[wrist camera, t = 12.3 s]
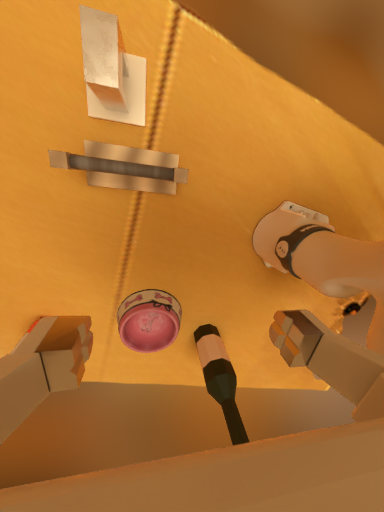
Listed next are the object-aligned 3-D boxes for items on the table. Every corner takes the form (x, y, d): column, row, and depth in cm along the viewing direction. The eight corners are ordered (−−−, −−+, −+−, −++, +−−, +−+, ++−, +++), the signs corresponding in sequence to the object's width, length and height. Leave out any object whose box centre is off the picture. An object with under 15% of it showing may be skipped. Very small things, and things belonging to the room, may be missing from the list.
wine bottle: (221, 324, 62) (272, 441, 35) (213, 343, 65) (255, 464, 38) (197, 322, 60) (232, 445, 33) (190, 342, 63) (217, 469, 36)
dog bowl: (107, 329, 55) (101, 349, 49) (133, 279, 50) (130, 294, 44) (164, 344, 62) (165, 363, 56) (192, 300, 57) (196, 316, 51)
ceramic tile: (146, 60, 34) (146, 58, 33) (145, 127, 37) (144, 126, 37) (84, 45, 31) (83, 42, 31) (89, 117, 35) (88, 115, 34)
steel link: (129, 67, 33) (117, 15, 22) (129, 114, 35) (118, 88, 25) (104, 61, 32) (79, 4, 21) (106, 109, 35) (84, 81, 24)
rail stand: (178, 155, 40) (191, 145, 26) (175, 194, 43) (184, 204, 29) (85, 140, 37) (43, 121, 23) (89, 184, 40) (54, 191, 26)
